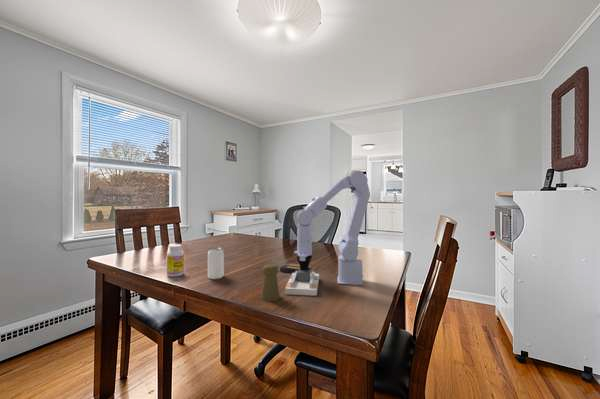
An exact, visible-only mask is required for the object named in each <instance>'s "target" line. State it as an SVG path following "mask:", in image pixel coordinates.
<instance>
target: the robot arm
mask: <svg viewBox="0 0 600 399" xmlns="http://www.w3.org/2000/svg"><path fill="white" fill-rule="evenodd" d="M368 183H369V182H368V177H367V176H366V174H365V173H364V172H362V170H353V171H352V172H348V173H347V174H345V176H343V177H341V178H340V179H338V180H337V181H336V182H335V183H333V185H332V186H331V187H330V188H329V189H328V190H327V191H326V192H325V193H323V195H322V196H316V197H312V198H311V201H310V202H309V203H308V204H307V205H306V206H303V207H302V208H303V210H300V211H299V212H298V213H297V216H296V221H297V229H296V231H297V232H296V234H297V235H296V236H297V237H296V238H297V240H296V241H297V242H296V244H297V245H296V246H297V250H294V252H293V253H294V254H296V255H297V257H296V261H297V262H298V265H300V269H301V270H309V269H310V268H309V266H310V263H311V260H312V257H313V251H312V250H313V244H312V243H313V242H312V238H313V236H312V235H313V234H312V230H313V229H312V223H313V219H314V218H317V217H318V216H319V215H320V214H321V213H322V212H323V211H324V210H325V209H326V208H328V206H327V205H328V202H329V201H331V200H332V199H334V197H335V196H336V195H338V194H339V193H340V192H341V191H342V190H345V189H350V190H351V191H352V192H353V194H354V195H355V199H354V202H353V203H354V204H353V206H352V209H351V213H350V217H349V220H348V223H347V227H346V230H345V233H344V235H343V236H342V239H341V241H340V242H339V243H338V244H337V251H338V253H339V256H338V257H337V259H338V260H337V261H338V263H337V264H338V267H337V268H338V273H337V274H338V276H336V279H337V281H336V282H337V284H338V285H354V286H355V285H356V286H357V285H358V286H363V277H364V276H363V274H364V273H363V261H362V259H358V258H357V257H359V256H358V255H359V248H358V247H359V235H360V231H361V228H362V225H363V221H364V217H365V214H366V211H367V208H368V204H369V201H370V198H371V191H370V188H369V184H368Z"/></svg>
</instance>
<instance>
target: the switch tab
mask: <svg viewBox="0 0 600 399" xmlns="http://www.w3.org/2000/svg"><path fill="white" fill-rule="evenodd" d="M311 274H312V272H311V269H308V270H298V271H297V273H296V281H310V278H311Z"/></svg>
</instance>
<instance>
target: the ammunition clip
mask: <svg viewBox="0 0 600 399" xmlns="http://www.w3.org/2000/svg"><path fill="white" fill-rule="evenodd" d="M310 268H311V265H309V268H308V269H310ZM298 270H301V269H300V265H299V264H298V263H289V264H284V265H282V266H280V267H279V272H282V273H289V274H292V273H295V271H298Z"/></svg>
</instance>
